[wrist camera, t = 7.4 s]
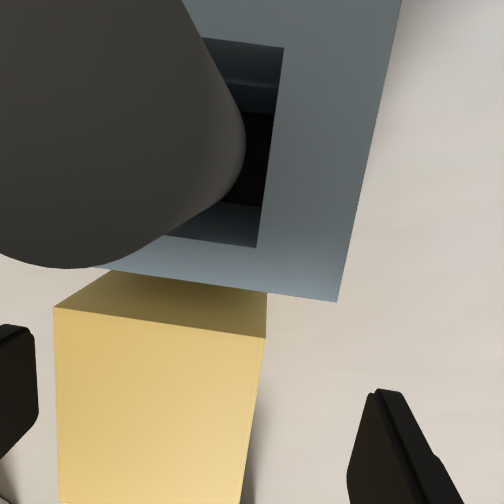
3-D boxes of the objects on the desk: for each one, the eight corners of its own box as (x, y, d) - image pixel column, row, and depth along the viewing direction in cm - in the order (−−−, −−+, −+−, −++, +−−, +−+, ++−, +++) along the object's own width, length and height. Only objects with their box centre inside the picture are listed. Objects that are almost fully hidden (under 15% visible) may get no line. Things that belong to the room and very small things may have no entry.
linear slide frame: (327, 96, 14) (428, -34, 5) (242, 575, 21) (222, 865, 12) (142, 72, 14) (-82, -96, 5) (122, 556, 21) (19, 826, 12)
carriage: (268, 252, 15) (265, 338, 7) (251, 362, 17) (235, 530, 9) (164, 237, 15) (53, 306, 7) (156, 348, 17) (59, 502, 9)
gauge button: (255, 73, 6) (229, -84, 2) (236, 223, 7) (195, 288, 3) (105, 53, 6) (-155, -129, 2) (103, 204, 7) (-99, 246, 3)
